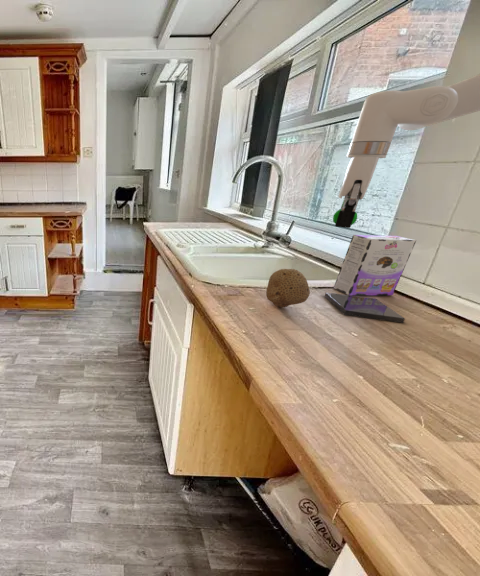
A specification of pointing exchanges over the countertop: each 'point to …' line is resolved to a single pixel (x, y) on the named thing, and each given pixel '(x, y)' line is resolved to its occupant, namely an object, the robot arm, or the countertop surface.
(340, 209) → the polyhedron
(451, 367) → the countertop surface
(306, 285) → the natural sponge
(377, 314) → the board
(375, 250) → the candy box
